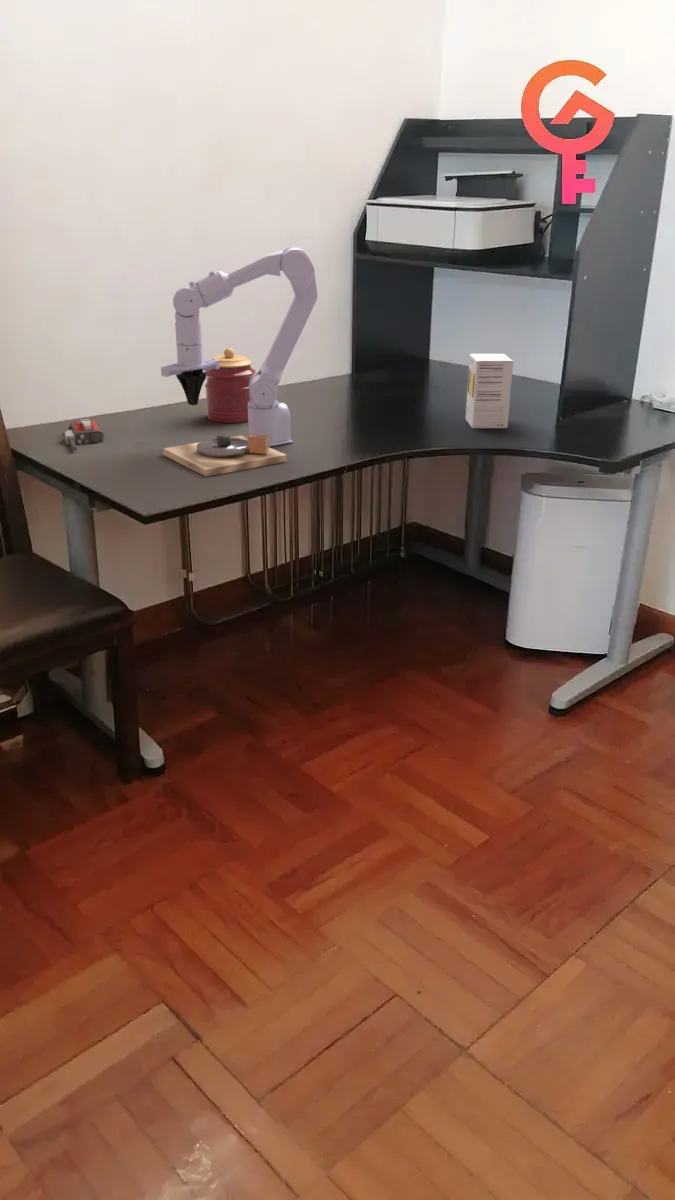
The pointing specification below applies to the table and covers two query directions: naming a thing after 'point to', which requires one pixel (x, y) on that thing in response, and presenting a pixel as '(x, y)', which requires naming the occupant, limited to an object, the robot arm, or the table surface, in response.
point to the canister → (229, 388)
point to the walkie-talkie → (83, 433)
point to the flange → (234, 446)
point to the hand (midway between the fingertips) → (192, 404)
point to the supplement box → (489, 390)
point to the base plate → (221, 458)
